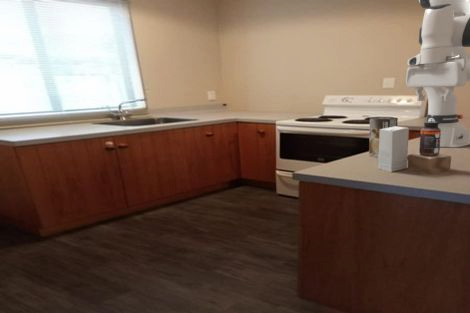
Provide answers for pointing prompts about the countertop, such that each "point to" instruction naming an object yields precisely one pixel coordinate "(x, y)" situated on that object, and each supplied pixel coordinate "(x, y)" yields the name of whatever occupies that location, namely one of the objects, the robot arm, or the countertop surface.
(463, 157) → the countertop surface
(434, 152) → the supplement bottle
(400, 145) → the skincare box
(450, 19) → the robot arm
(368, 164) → the countertop surface
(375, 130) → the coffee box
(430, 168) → the walnut base
